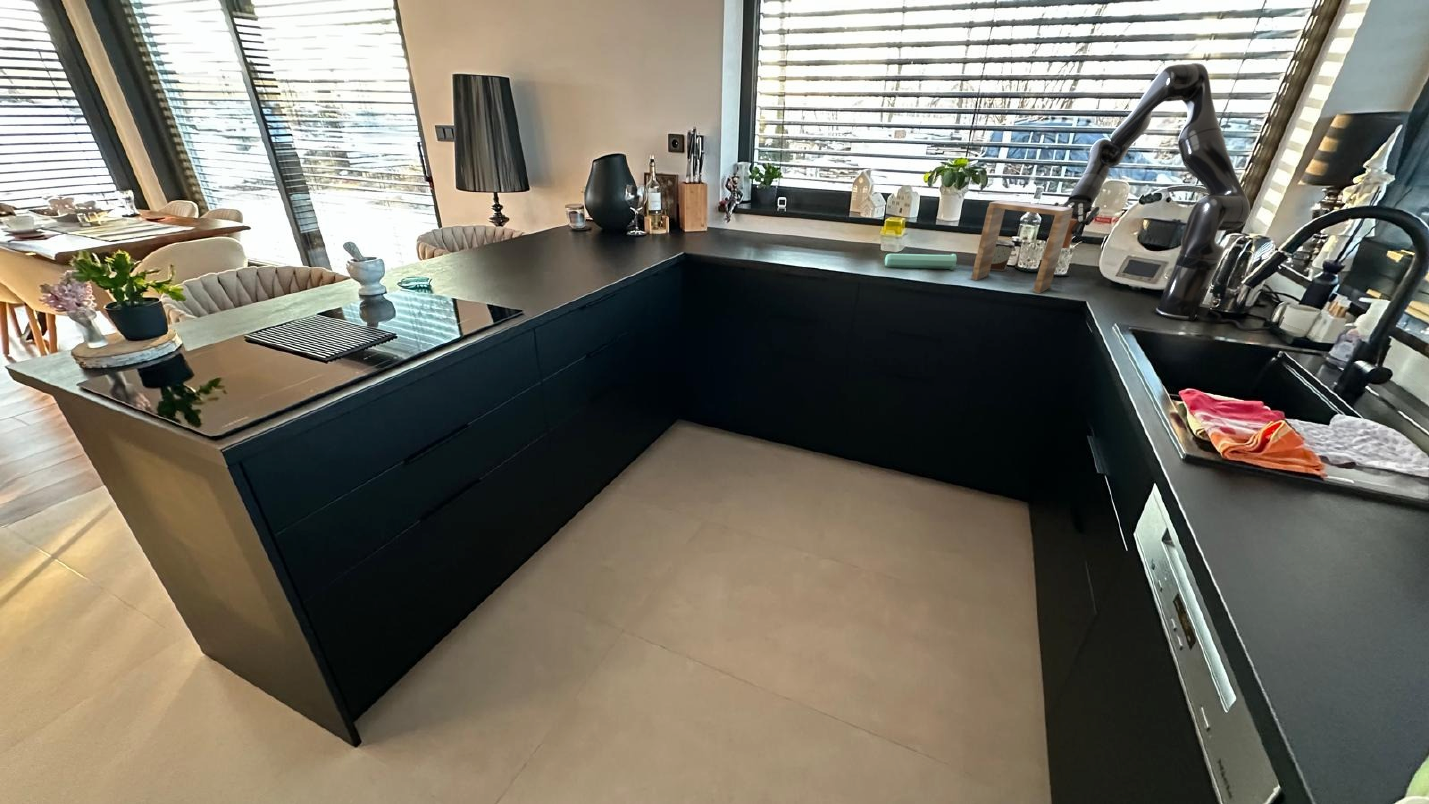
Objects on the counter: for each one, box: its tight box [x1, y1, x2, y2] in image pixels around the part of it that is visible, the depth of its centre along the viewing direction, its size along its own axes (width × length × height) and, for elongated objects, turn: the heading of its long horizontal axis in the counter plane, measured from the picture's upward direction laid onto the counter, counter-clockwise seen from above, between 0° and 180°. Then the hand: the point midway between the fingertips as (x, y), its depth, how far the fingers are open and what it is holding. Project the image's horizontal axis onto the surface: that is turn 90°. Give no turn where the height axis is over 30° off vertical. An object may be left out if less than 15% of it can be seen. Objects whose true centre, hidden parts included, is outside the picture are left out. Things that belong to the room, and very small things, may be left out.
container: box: [884, 253, 958, 271], centre depth 205 cm, size 6×6×25 cm
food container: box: [990, 239, 1016, 272], centre depth 207 cm, size 12×6×10 cm, turn 84°
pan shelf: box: [970, 199, 1073, 294], centre depth 184 cm, size 22×10×26 cm, turn 44°
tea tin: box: [1062, 217, 1079, 249], centre depth 187 cm, size 5×5×9 cm
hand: (1063, 231), depth 186 cm, fingers closed on tea tin, 5 cm apart
